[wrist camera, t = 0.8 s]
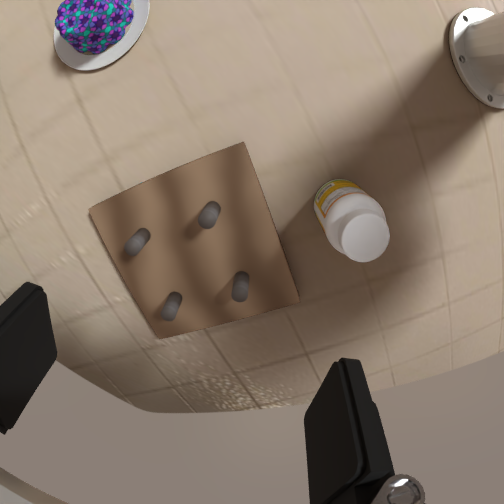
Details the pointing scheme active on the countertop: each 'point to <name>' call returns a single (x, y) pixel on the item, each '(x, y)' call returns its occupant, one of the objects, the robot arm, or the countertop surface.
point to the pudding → (97, 30)
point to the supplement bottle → (352, 220)
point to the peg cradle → (198, 245)
